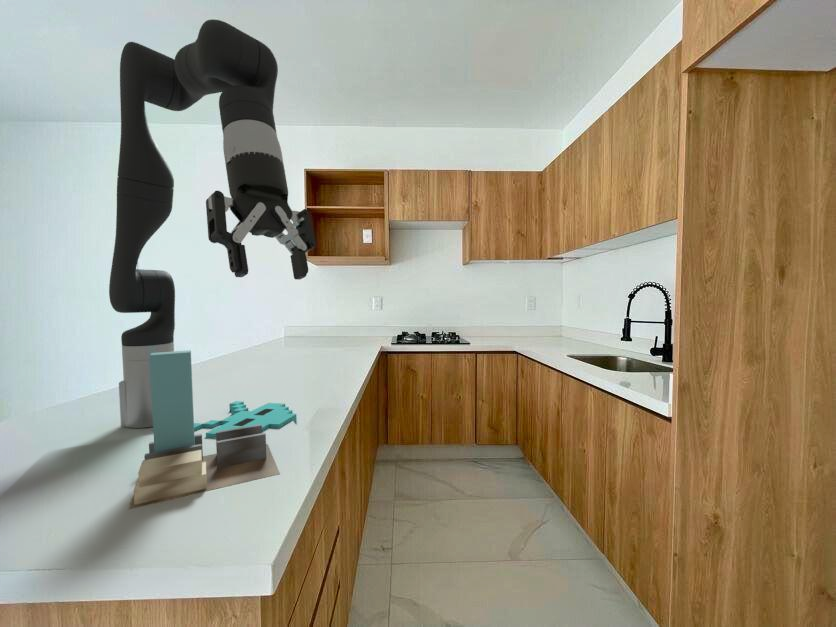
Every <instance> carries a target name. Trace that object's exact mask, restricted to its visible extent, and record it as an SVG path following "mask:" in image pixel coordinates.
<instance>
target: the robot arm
mask: <svg viewBox="0 0 836 627" xmlns="http://www.w3.org/2000/svg"><path fill="white" fill-rule="evenodd" d="M278 69H279V67H278V62H277V58H276V56H275V54H274V53H273V51H272V50H271V49H270V47H268V45H266V44H265V43H263V42H262V41H260V40H258V39H256V38H254V37H253V36H251V35H249V34H247V33H246V32H244V31H242V30H240V29H239V28H237V27H235V26H234V25H232V24H230V23H227V22H226V21H223V20H220V19H207V20H205V21H204V22H203V23H202V25H201V26H200V28H199V32H198V34H197V38H196V40H195V41H194V42H191V43H188V44H186V45H184V46H183V47H180V49H179V50H178V51H177V52H176V55H175V57H174V58H172V57H170V56H168V55H166V54H164V53H161V52H159V51H158V50H157V51H156V50H154V49H152V48H150V47H148V46H145V45H143V44H141V43H139V42H135V41H128V42H127V43H126V44H124V46H123V49H122V51H121V55H120V62H119V98H120V103H119V104H120V142H119V143H120V144H119V156H118V157H119V158H118V165H117V166H118V168H117V177H116V178H117V179H116V216H115V218H116V221H115V238H114V246H113V255H112V261H111V268H110V269H111V270H110V275H109V285H108V288H109V289H108V292H109V294H108V295H109V296H108V297H109V302H110V305H111V308H112V309H113V311H115V312H117V313H121V314H122V313H123V314H132V313H133V314H134V313H135V314H136V313H137V314H138V313H150V315H149V318H148V319H147V320H146V321H144V322H143V323H141V324H140V325H137V326H135V327H133V328H130V329H129V328H128V329H127V330H125V331H123V332H122V334H121V338H120V339H121V340H120V341H121V355H122V356H121V357H122V369H123V370H122V372H123V373H122V375H123V380H121V381H119V382H118V395H119V396H118V398H119V413H120V414H119V415H120V427H121V428H122V427H123V428H124V427H126V428H129V429H131V428H132V429H141V428H142V429H143V428H151V427H153V411H152V390H151V369H150V354H151V353H158V352H172V351H175V344H174V343H175V342H174V336H175V329H176V328H175V326H176V323H175V322H176V321H175V319H176V318H175V314H176V313H175V311H176V310H175V309H176V306H175V305H176V287H175V283H174V279H173V277H172V275H171V273H169V272H168V271H166V270H163V269H162V270H160V269H137V266H138V262H139V261H138V260H139V258H140V255H141V253H142V250H143V248H144V247H145V245H146V244H147V243H148V242H149V240H150V239H151V238H152V237H153V235H154V234H155V233H156V232H157V231H158V230H160V228H161V227H162V226H163V224H164V223H165V222H166V221H167V220H168V218H169V217H170V215H171V213H172V210H173V202H174V191H175V190H174V188H175V179H174V175H173V173H172V171H171V168H170V166H169V164H168V161H166V159H165V157H164V155H163V153H162V151H161V150H160V148H159V147H158V145H157V142H156V140H155V138H154V137H153V134H152V132H151V130H150V127H149V123H148V119H147V118H148V117H147V114H146V113H147V112H146V104H145V103H147V104H151V105H154V106H158V107H160V108H162V109H164V110H165V109H166V110H168V111H169V110H170V111H172V112H182V111H185V110H187V109H189V108H190V107H192V106H193V105H195V104H196V103H197V102H199V101H200V100H201V99H202V98H204V97H205V96H207V95H213V94H220V95H219V100H218V109H219V115H220V123H221V129H222V137H223V138H222V139H223V140H222V141H223V142H222V145H223V146H222V147H223V149H222V150H223V157H224V164H225V169H226V170H225V171H226V176H227V183H228V190H229V191H228V192H229V195H230V197H229V196H225V195H224V193H223V192H222V191H221V190H215V191H213V193H211V194H210V195H209V196H208V198H207V199H206V200H205V209H206V224H207V236H208V240H209V242H210V243H212V244H219V245H222V246H223V247H224V248H226V251H227V252H226V253H227V257H228V264H229V270H230V271H231V273H234V277H235V278H243V277H245V276H247V275H248V274H249V266H248V258H247V253H246V246H245V244H242V242H243V241H244V239H245V237H247V235H248V234H249V233H250V234H251V236H256V237H258V236H264V237H266V238H271V239H273V238H275V239H276V240H277V242H278V243H279V244H281V245H283V246H284V247H285V248H286V249H287V250H288V252H290V254H291V255H290V256H289V257H290V261H291V262H290V263H291V267H292V268H291V269H292V273H293V278H294V280H297V281H298V280H302V279H304V278H306V277H307V275H308V273H309V266H308V258H307V253H308V252H309V251H311V250H313V249H315V248H316V247H317V240H316V237H315V233H314V228H313V224H312V219H311V215H310V214H311V213H310V212H309V210H308V209H306V208H303V209H302V210H301V211H298V210H292V208H291V207H290V205H289V201H288V200H289V198H288V197H289V187H288V182H287V176H286V170H285V165H284V158H283V152H282V147H281V145H280V141H279V138H278V133H277V129H276V122H275V116H274V115H275V114H274V103H275V91H276V84H277V78H278V72H279V70H278ZM229 210H230V211H231V213H232V214H233V216H235V218H236V219H237V221H238V222H237V223H236V225H235V226H234V228H233V229H232V230H231V232H229V231H228V228H227V214H226V213H227V212H228V211H229ZM284 231H286V232H287V234H285V233H284Z"/></svg>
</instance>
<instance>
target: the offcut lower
mask: <svg viewBox="0 0 836 627" xmlns="http://www.w3.org/2000/svg"><path fill="white" fill-rule="evenodd" d="M206 488H207V473H206V462H202V474H201V475H196V476H191V477H187V478H182V479H177V480H172V481H168V482H163V483H158V484H154V485H149V486H144V487H139V477H137V480H136V483H135V486H134V488H133V495H134V502H135V505H136V504H140V503H145V502H149V501H153V500H158V499H162V498H167V497H171V496H175V495H180V494H184V493H188V492H193V491H197V490H201V489H206Z"/></svg>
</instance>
